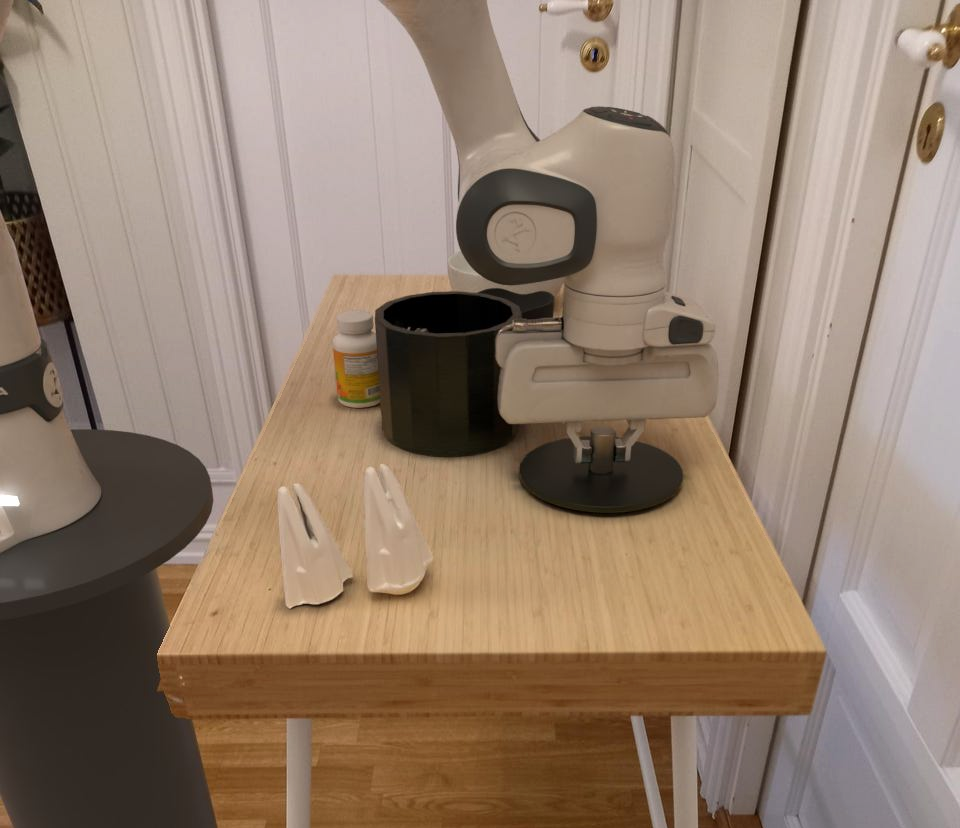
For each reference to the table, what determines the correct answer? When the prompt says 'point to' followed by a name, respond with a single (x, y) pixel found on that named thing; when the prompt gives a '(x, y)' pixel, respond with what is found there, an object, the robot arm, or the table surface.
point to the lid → (601, 475)
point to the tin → (442, 372)
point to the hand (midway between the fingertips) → (601, 460)
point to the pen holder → (527, 302)
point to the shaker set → (321, 565)
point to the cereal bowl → (472, 282)
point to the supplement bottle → (356, 360)
